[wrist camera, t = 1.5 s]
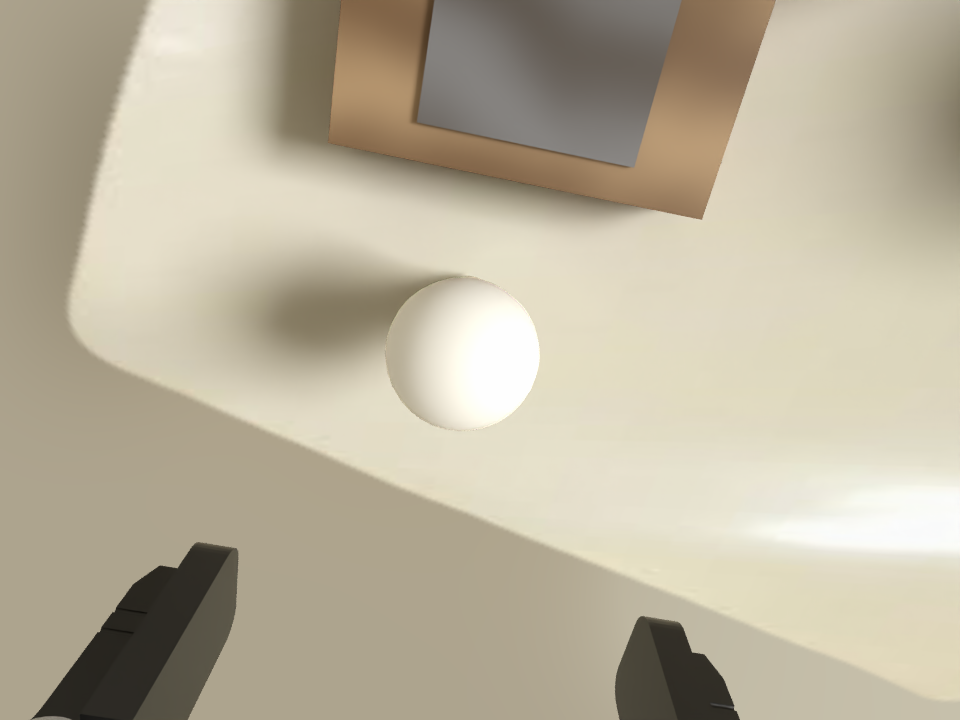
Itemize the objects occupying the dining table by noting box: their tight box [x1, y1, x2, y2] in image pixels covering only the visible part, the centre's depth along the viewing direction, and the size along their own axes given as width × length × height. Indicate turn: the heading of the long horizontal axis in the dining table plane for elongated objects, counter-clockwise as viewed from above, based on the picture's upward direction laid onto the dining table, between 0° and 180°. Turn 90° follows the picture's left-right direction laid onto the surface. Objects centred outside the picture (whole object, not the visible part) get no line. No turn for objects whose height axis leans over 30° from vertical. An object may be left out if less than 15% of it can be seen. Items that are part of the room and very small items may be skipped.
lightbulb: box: [385, 276, 539, 431], centre depth 27 cm, size 6×6×11 cm
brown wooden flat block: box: [328, 0, 776, 220], centre depth 25 cm, size 12×16×4 cm
